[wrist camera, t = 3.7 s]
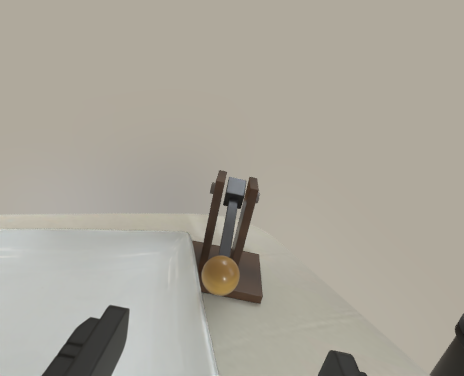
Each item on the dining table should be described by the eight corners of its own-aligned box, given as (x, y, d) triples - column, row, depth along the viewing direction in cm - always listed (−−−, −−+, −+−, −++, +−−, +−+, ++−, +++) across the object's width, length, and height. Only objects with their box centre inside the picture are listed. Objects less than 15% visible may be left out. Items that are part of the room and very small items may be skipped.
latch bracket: (260, 303, 33) (291, 204, 28) (165, 284, 32) (181, 180, 28) (257, 260, 41) (281, 178, 36) (181, 244, 41) (196, 160, 36)
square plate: (241, 565, 13) (256, 530, 12) (-986, 1041, 6) (-1362, 1102, 4) (188, 249, 38) (191, 226, 36) (-56, 254, 30) (-64, 224, 28)
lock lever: (233, 305, 25) (240, 289, 22) (196, 297, 25) (199, 280, 22) (246, 197, 35) (253, 178, 32) (220, 191, 35) (224, 171, 32)
